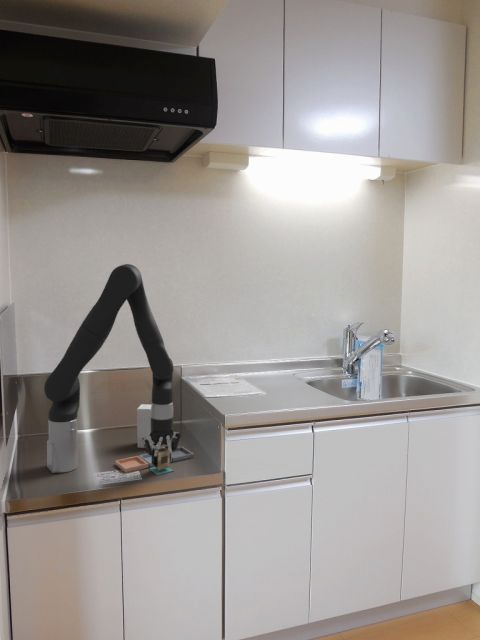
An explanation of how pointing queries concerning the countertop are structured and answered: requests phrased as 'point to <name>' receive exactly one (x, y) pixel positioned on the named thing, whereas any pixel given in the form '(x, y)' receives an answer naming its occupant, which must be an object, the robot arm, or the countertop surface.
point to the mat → (163, 471)
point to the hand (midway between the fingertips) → (161, 464)
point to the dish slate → (149, 459)
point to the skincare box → (143, 424)
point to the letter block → (163, 458)
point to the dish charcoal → (181, 454)
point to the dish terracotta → (131, 464)
